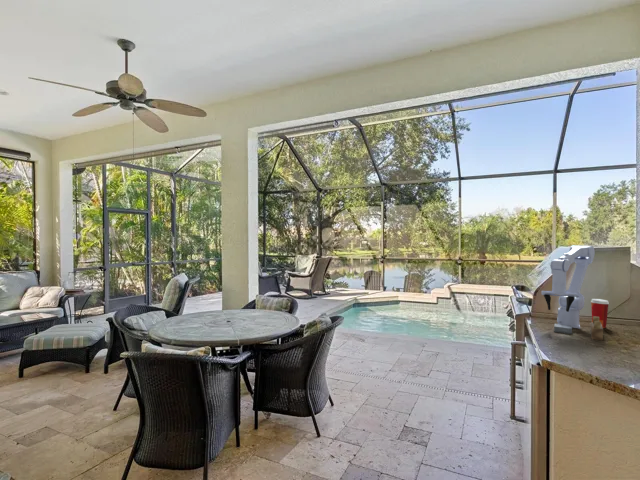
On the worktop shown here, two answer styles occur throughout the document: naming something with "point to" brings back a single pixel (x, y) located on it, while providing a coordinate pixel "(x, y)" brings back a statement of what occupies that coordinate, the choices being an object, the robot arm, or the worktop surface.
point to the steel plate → (563, 328)
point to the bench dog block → (596, 329)
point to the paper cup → (600, 310)
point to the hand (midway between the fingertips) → (558, 310)
